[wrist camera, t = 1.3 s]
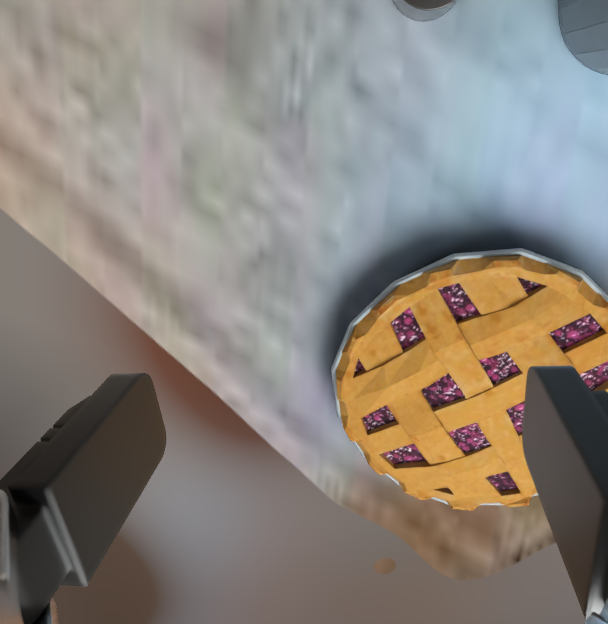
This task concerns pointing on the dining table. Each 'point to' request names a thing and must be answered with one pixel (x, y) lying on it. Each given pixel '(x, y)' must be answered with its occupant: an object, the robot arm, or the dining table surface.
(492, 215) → the dining table surface
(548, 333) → the pie
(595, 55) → the grey cup
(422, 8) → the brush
